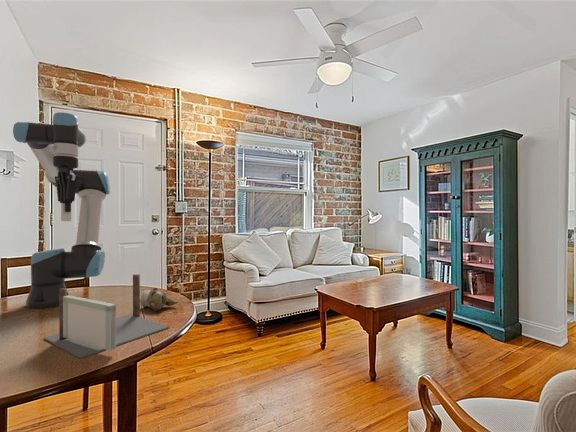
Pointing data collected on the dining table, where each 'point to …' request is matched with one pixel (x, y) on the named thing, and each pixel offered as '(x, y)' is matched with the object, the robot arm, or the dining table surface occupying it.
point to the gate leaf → (89, 321)
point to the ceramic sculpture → (155, 299)
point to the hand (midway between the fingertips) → (66, 221)
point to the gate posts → (135, 302)
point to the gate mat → (125, 332)
